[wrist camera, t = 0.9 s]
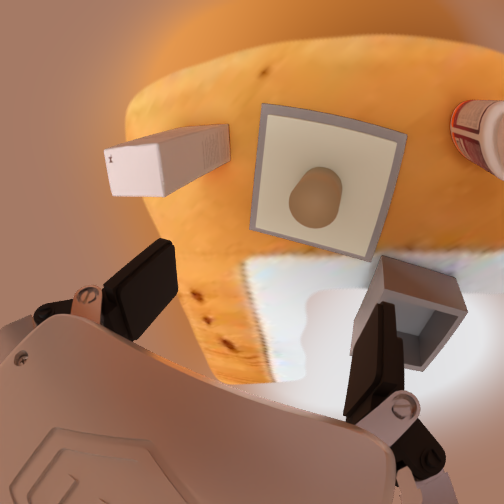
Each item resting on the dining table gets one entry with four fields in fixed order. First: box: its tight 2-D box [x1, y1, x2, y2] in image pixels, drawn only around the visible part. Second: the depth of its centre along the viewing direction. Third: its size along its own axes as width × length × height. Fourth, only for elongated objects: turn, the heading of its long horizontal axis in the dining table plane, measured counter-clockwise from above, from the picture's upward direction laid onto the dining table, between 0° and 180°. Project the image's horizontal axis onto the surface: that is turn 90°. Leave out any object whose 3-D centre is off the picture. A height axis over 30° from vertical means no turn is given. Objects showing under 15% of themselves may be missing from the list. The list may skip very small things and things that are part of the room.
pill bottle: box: [450, 100, 504, 181], centre depth 13 cm, size 6×6×11 cm
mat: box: [249, 103, 407, 262], centre depth 26 cm, size 14×14×1 cm
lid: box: [256, 114, 397, 257], centre depth 23 cm, size 12×12×6 cm
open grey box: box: [350, 256, 468, 372], centre depth 26 cm, size 10×10×6 cm
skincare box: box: [104, 124, 231, 197], centre depth 23 cm, size 6×4×12 cm
